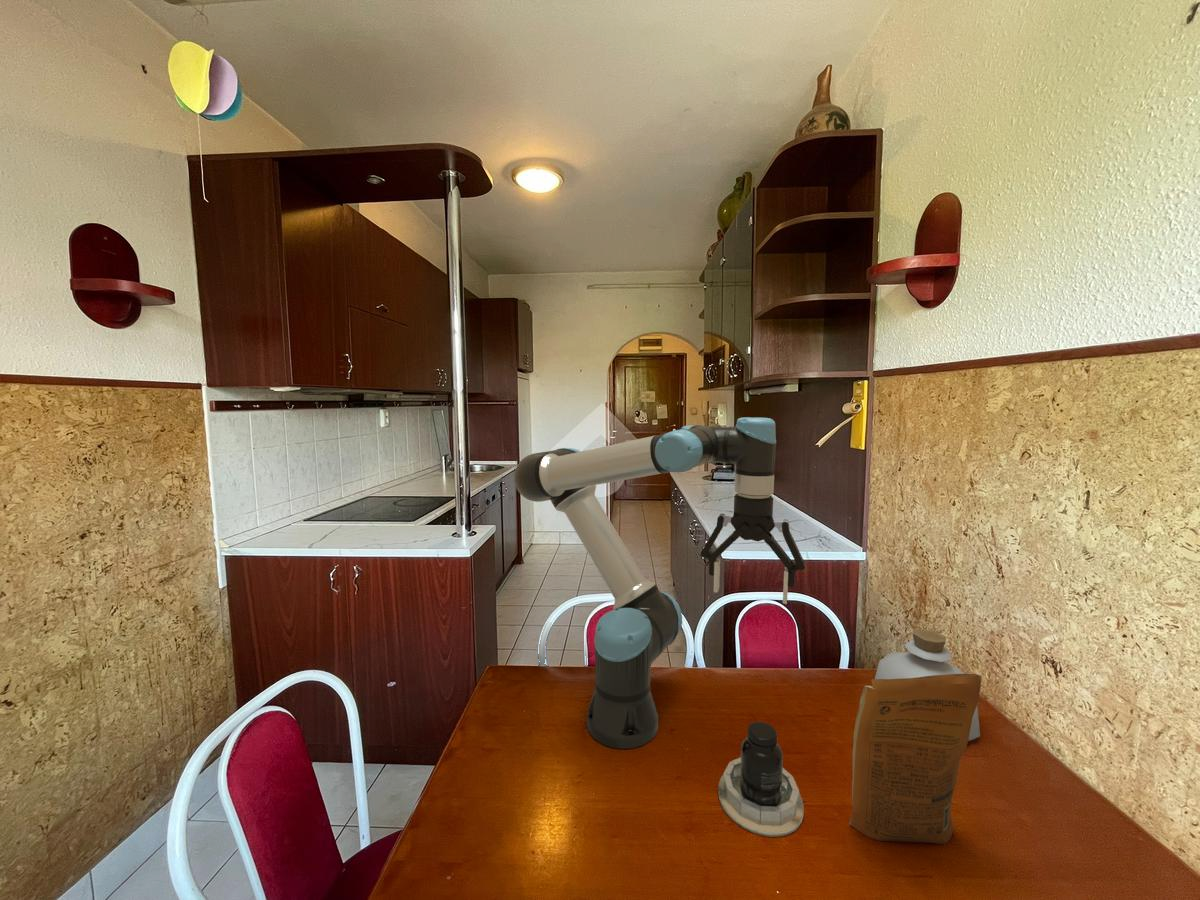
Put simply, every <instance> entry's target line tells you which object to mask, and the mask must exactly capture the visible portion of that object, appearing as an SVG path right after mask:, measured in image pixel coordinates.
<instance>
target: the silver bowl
mask: <svg viewBox="0 0 1200 900" xmlns="http://www.w3.org/2000/svg"><path fill="white" fill-rule="evenodd" d="M740 777H741V756H739V757H737V758H736V759H733V760H731V761H729V762H728V765H727V766H726V768H725V770H724V772H723V774H722V775H721V777H720V778H719V782H718V789H717V790H718V793H717V794H718V800H719V803H720V806H721V807H722V809H723V811H724V812H725V814H726V815H727V817H729V819H731V820H732V821H733V822H734V823H735V824H737V825H738V826H740V827H741V828H742V829H745V830H746V831H749V833H753V834H756V835H759V836H764V837H771V838H780V837H784V836H788V835H790V834H792V833H794V832H796V831H797V830H798V829H799V827H801V825H802V822H803V819H804V813H805V812H804V809H805V807H804V801H803V798H802V796H801V794H800V789H799V787H798V785H797V782H796V781H795V778H794V777H793V775H792V774H791V773H790V772H788V770H786V769H785V768H784V767H783V768H782V796H781V802H780V804H779V805H778V806H777V807H772V806H759V805H757V804H755V803H753V802H751V801H748V800H746V799H744V797H743V795H742V793H741V789H740Z"/></svg>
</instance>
